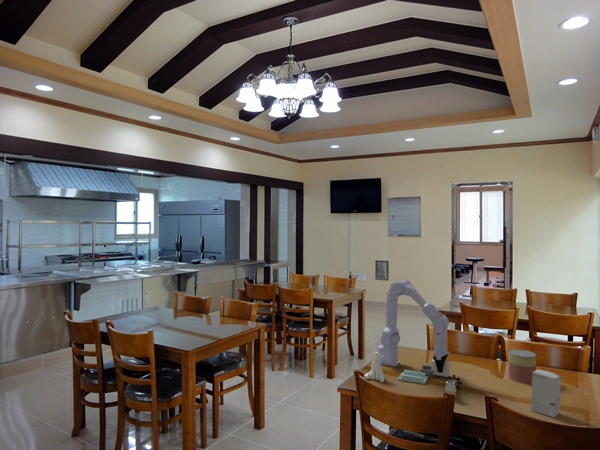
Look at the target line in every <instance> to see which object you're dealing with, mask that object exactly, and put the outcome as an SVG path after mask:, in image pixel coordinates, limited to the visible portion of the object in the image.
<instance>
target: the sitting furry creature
mask: <svg viewBox="0 0 600 450" xmlns="http://www.w3.org/2000/svg"><path fill="white" fill-rule="evenodd" d="M383 357H384V355H382V356H381V354H380V353H379V352H378V351H376V352H372V356H371V358H372V359H371V360H372V362H371V365H370V368H371V369H370V371H368V372H366V373H365V374H364V375H363V378H364V377H365V378H366V379H367V380H373V379H374V380H375V379H376V380H375V381H380V382H381V383H384V381H385V376H384V372H383V369H382V364H381V363H380V361H381V359H382V358H383ZM366 379H365V380H366Z"/></svg>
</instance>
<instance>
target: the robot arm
mask: <svg viewBox="0 0 600 450" xmlns="http://www.w3.org/2000/svg"><path fill="white" fill-rule="evenodd" d="M401 296H407V297H410V298H411V299H412V300H413V301H414V302H415V303H416V304H418V306H419V307H420V308H421V312H422V314H424V315H425V316H426V317H427V319H428V320H430V322H431V326H432V327H433V329H434V330H433V332H434V333H433V335H434V338H433V339H434V341H433V342H434V343H433V344H434V345H433V346H434V347H433V348H434V350H433V353H434V356H433V358H432V359H434V361H435V363H436V367H437V371H438V372H439V373H442V372H443V368H444V363H445V361H447V358H448V356H449V355H450V354H451V353H450V351H448V326H449V324H450V320H449V318H448V316H447V315H445V314H442V313H441V312H440V311H439V310H438V309H437V308H436V305H435V304H432V303H428V302H427V301H426V300H425V298H423V296H422V295H421V294H420V292H419V291H418V290H417V289H416V288H415V286H414V284H413V283H412V282H411V281H410V280H408V279H404V280H398V281H394V282H392V283H391V284H390V287H389V289H388V290H387V292H386V308H385V309H386V310H385V313H386V314H385V315H386V316H385V327H384V329H383V330H382V333H381V336H380V343H381V344H379V346H378V350H377V352H379V353H380V354H381V356H382V355H384V357H383V358H382V359H381V361H380V363H381V365H382V366H383V365H384V366H390V367H391V366H392V367H397V366H398V365H399V364H400V362H401V361H400V360H399V359H398V356H399V355H398V351H399V349H398V345H399V343H400V341H401V336H400V333H399V332H400V331H399V328H398V327H397V322H398V321H397V320H398V304H399V303H398V302H399V301H398V299H399V298H400V297H401Z"/></svg>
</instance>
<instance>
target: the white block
mask: <svg viewBox="0 0 600 450" xmlns="http://www.w3.org/2000/svg"><path fill="white" fill-rule="evenodd" d="M430 363H431V364H430V366H431V371H433V376H440V377H447V378H448V376H451V361H449V360H446V361H445V363H444V368H443V372H442V373H439V372H438V371H437V367H436V363H435V361H434V359H433V358H432V360H431V361H430Z"/></svg>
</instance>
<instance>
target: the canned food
mask: <svg viewBox="0 0 600 450" xmlns="http://www.w3.org/2000/svg"><path fill="white" fill-rule="evenodd" d="M536 370H537V354H536V353H535V352H533V351H530V350H525V349H510V350H508V379H509V380H511V381H512V382H515V383H518V382H519V384H524V383H525V384H526V385H528V384H527V383H532V380H533V372H534V371H536Z"/></svg>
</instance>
